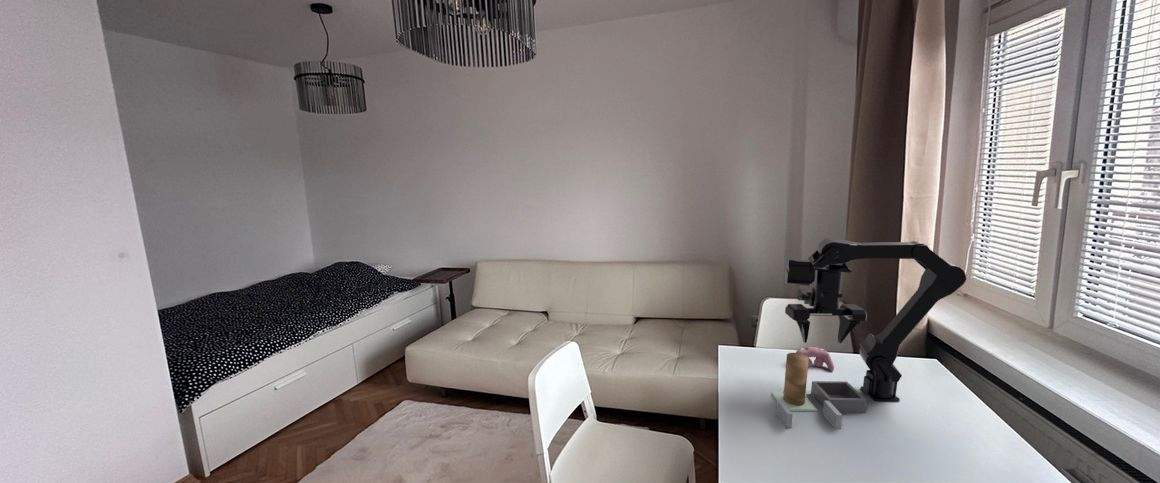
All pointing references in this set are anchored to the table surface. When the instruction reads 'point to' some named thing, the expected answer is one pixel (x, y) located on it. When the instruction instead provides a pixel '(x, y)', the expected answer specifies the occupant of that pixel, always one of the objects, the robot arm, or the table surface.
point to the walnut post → (795, 379)
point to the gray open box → (839, 396)
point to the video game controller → (817, 356)
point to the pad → (806, 407)
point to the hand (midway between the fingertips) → (822, 342)
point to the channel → (828, 412)
